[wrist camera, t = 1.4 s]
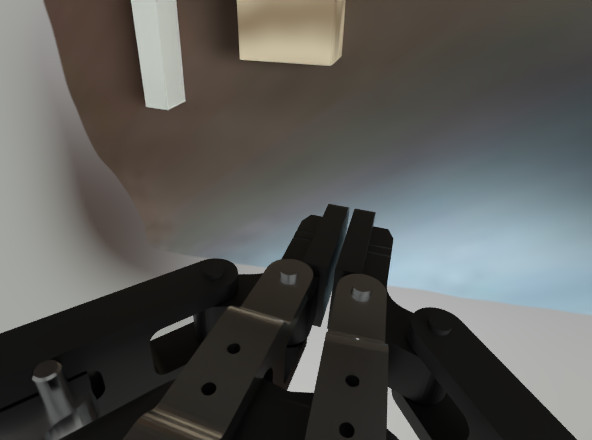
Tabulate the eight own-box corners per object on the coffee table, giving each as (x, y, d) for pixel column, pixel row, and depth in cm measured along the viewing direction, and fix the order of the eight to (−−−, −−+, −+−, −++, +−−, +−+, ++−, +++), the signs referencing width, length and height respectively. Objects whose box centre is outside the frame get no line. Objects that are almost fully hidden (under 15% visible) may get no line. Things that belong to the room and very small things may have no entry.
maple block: (257, -49, 35) (233, -53, 31) (349, -49, 33) (337, -52, 29) (260, 50, 39) (240, 59, 35) (341, 55, 37) (330, 65, 33)
